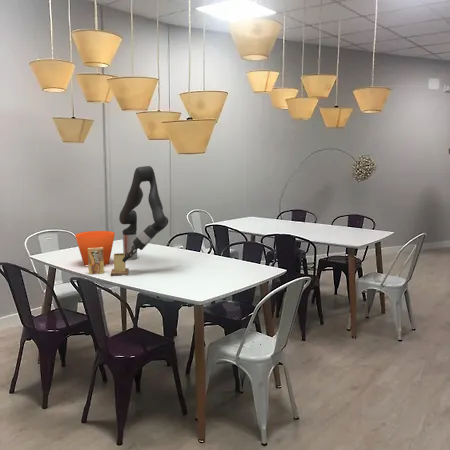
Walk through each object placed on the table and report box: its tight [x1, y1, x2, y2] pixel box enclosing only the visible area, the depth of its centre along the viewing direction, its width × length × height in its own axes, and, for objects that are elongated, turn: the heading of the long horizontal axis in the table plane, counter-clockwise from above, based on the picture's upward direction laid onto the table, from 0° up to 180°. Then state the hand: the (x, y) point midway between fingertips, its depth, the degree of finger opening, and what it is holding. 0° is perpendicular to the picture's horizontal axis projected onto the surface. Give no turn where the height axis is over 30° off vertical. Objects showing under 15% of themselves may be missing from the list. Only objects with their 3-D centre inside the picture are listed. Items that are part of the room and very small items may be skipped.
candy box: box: [88, 247, 105, 275], centre depth 292 cm, size 9×4×15 cm, turn 104°
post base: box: [110, 267, 130, 277], centre depth 292 cm, size 12×10×10 cm
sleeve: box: [113, 252, 127, 272], centre depth 292 cm, size 6×6×10 cm
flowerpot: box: [74, 230, 116, 266], centre depth 317 cm, size 25×25×20 cm
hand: (123, 260), depth 292 cm, fingers open, 8 cm apart
